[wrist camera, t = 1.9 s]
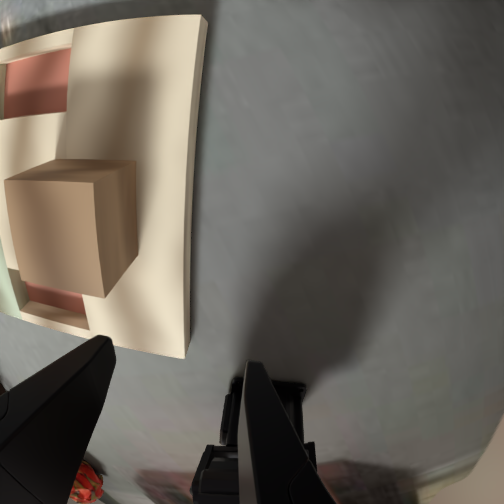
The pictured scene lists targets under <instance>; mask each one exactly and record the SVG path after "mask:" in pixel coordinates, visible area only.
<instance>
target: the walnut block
mask: <svg viewBox="0 0 504 504" xmlns="http://www.w3.org/2000/svg"><path fill="white" fill-rule="evenodd" d="M4 189H5V197H6V205H7V212H8V218H9V224H10V230H11V235H12V241H13V246H14V250H15V255H16V260H17V264H18V268H19V272H20V276H21V280H22V281H26V282H30V283H35V284H39V285H43V286H47V287H52V288H56V289H60V290H65V291H70V292H74V293H79V294H84V295H88V296H93V297H98V298H103V299H105V298H106V297H107V295H108V294H109V293H110V291H111V290H112V289H113V287H114V286H115V285H116V283H117V282H118V281H119V279H120V278H121V277H122V275H123V274H124V273H125V272H126V270H127V269H128V268H129V266H130V265H131V264H132V263H133V261H134V260H135V259H136V257H137V256H138V240H137V212H136V161H129V160H98V159H54V160H51V161H49V162H46V163H43V164H41V165H38V166H36V167H33V168H31V169H28V170H26V171H24V172H21V173H19V174H16V175H14V176H12V177H9V178H7V179H5V180H4Z"/></svg>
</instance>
